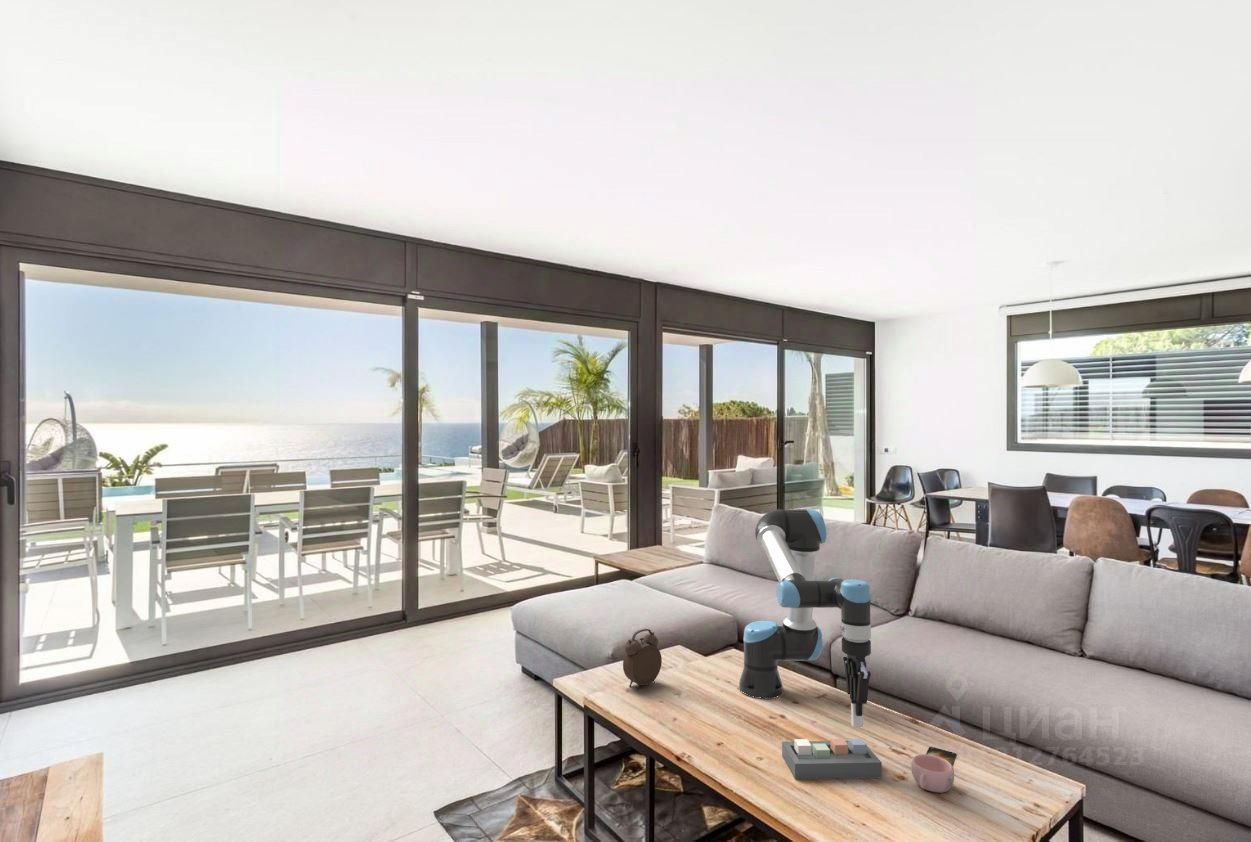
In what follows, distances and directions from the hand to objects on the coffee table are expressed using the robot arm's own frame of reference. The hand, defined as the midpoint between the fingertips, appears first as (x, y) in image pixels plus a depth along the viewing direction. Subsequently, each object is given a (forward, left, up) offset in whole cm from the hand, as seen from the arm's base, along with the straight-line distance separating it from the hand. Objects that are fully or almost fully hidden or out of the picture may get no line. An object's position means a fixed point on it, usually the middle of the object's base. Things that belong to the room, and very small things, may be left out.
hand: (857, 725), depth 171 cm
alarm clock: (-58, -55, -11) cm, 81 cm away
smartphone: (-2, +23, -12) cm, 26 cm away
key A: (0, 0, -7) cm, 7 cm away
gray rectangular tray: (0, -8, -11) cm, 13 cm away
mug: (+11, +14, -11) cm, 21 cm away
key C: (0, -10, -8) cm, 13 cm away
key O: (0, -15, -7) cm, 16 cm away
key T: (0, -5, -7) cm, 8 cm away
